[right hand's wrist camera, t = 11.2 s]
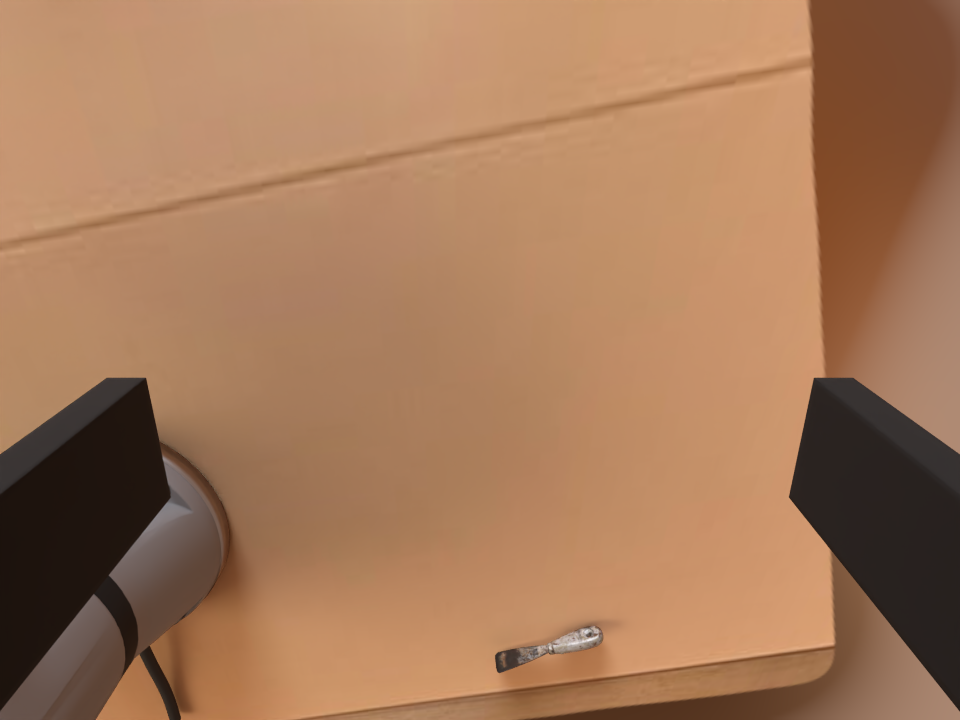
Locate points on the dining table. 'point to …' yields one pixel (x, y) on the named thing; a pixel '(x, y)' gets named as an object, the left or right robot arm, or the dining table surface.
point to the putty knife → (550, 648)
